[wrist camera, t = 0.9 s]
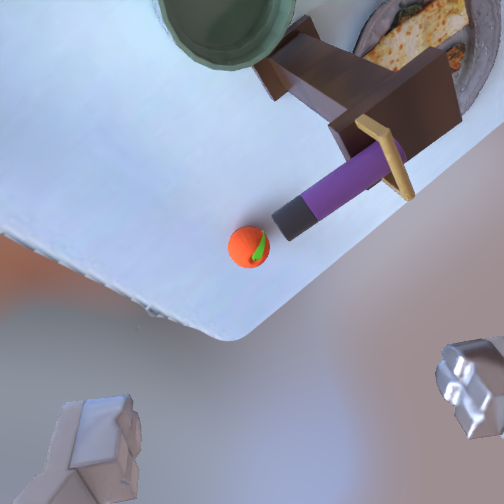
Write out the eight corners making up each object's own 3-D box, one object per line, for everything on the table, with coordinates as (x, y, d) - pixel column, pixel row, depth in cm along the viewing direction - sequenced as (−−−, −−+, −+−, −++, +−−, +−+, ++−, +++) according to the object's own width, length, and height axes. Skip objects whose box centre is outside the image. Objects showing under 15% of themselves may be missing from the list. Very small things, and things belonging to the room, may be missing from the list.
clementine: (236, 208, 64) (249, 232, 59) (271, 218, 68) (286, 242, 62) (217, 247, 68) (227, 273, 62) (251, 255, 71) (264, 280, 66)
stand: (270, 104, 55) (392, 213, 33) (242, 59, 51) (363, 152, 28) (328, 57, 54) (497, 138, 32) (306, 7, 49) (485, 60, 27)
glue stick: (282, 228, 36) (293, 247, 34) (267, 209, 34) (277, 227, 32) (392, 152, 34) (410, 167, 32) (382, 128, 32) (401, 142, 30)
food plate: (361, 170, 67) (372, 179, 65) (317, 37, 52) (329, 43, 49) (490, 90, 66) (507, 96, 63) (485, -72, 50) (507, -72, 48)
